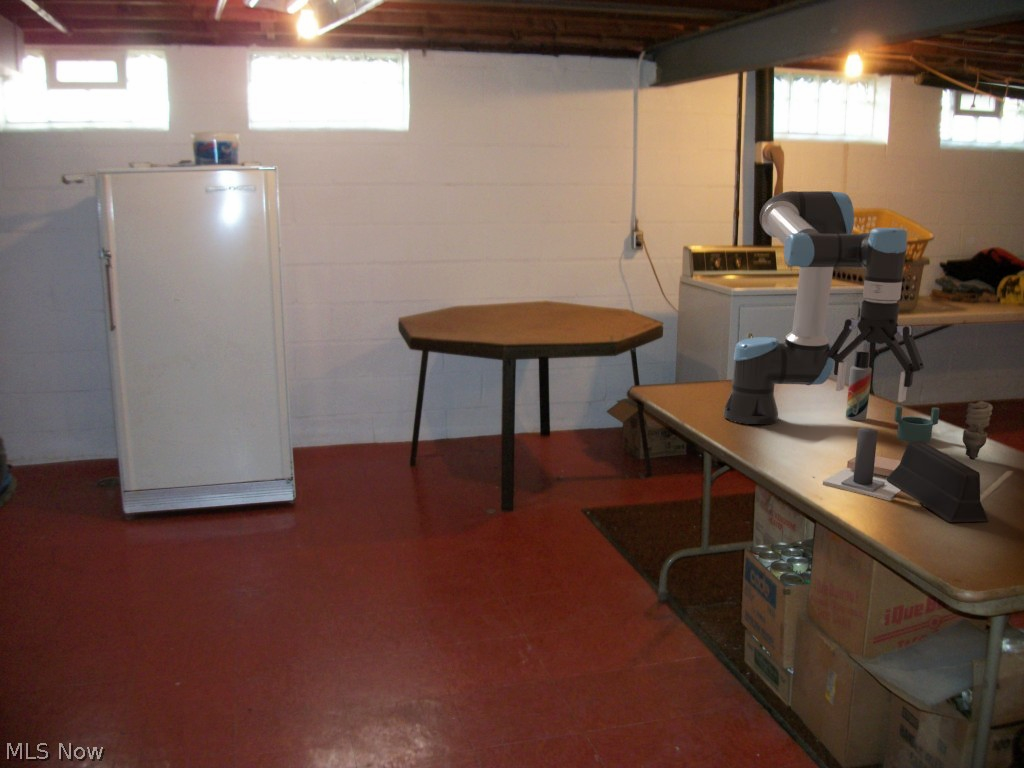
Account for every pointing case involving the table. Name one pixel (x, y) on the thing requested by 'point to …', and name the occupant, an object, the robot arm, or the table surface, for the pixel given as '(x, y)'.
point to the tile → (879, 465)
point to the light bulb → (976, 427)
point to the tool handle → (865, 456)
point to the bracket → (915, 426)
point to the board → (876, 489)
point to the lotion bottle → (859, 387)
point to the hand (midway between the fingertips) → (870, 395)
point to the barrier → (939, 483)
